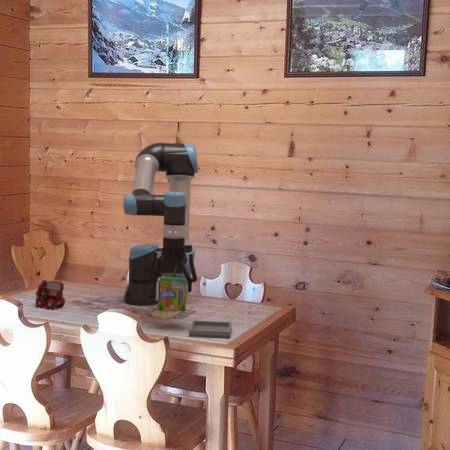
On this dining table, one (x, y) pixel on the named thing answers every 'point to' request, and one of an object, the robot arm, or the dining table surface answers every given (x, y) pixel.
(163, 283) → the chalk box
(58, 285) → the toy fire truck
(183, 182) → the robot arm
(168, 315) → the hand bell
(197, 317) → the dining table surface
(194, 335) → the tray
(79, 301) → the dining table surface
